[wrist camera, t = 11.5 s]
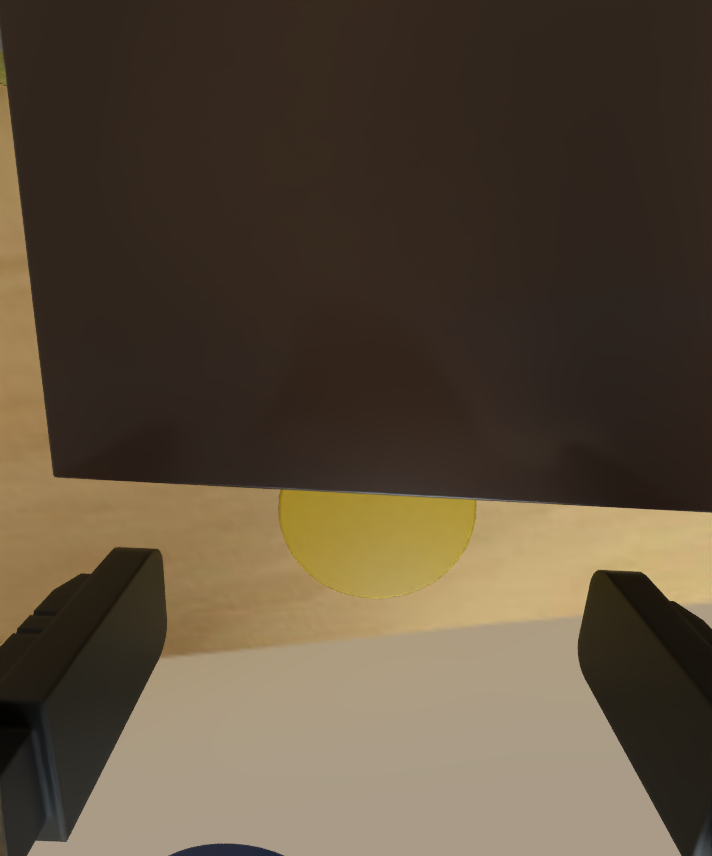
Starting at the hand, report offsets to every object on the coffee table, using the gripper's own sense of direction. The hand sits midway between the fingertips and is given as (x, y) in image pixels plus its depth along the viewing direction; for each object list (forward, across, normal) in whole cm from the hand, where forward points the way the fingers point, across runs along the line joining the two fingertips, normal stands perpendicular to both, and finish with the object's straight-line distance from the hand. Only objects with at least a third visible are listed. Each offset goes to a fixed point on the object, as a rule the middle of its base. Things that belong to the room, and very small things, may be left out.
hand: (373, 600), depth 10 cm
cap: (+8, 0, 0) cm, 8 cm away
